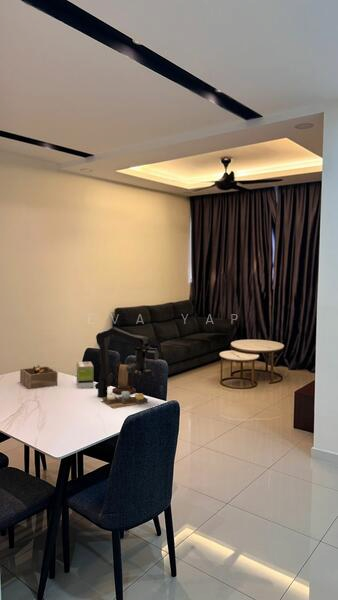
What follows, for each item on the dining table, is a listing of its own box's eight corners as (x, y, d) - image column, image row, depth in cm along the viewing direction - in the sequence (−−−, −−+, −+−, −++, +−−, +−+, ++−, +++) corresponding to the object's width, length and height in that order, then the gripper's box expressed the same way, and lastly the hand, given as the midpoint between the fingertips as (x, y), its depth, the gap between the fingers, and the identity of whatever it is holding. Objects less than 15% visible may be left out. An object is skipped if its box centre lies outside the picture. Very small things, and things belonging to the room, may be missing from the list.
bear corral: (20, 382, 280) (20, 369, 279) (47, 379, 291) (47, 366, 290) (29, 389, 264) (29, 375, 263) (57, 385, 275) (57, 372, 274)
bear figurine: (33, 387, 268) (33, 369, 268) (27, 382, 281) (27, 364, 280) (54, 385, 276) (54, 367, 275) (47, 380, 288) (47, 363, 288)
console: (100, 403, 239) (100, 397, 239) (134, 397, 252) (134, 392, 252) (113, 410, 226) (113, 404, 226) (148, 404, 239) (149, 398, 239)
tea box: (76, 383, 283) (76, 361, 282) (90, 382, 286) (91, 361, 285) (78, 388, 269) (78, 366, 268) (93, 388, 272) (94, 365, 271)
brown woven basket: (108, 395, 255) (109, 363, 254) (117, 389, 270) (118, 359, 269) (131, 398, 252) (132, 365, 251) (138, 391, 266) (139, 360, 265)
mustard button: (133, 400, 241) (133, 393, 240) (140, 399, 244) (140, 392, 243) (138, 402, 237) (138, 395, 237) (145, 401, 240) (145, 394, 239)
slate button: (119, 398, 240) (119, 391, 240) (126, 397, 243) (127, 390, 242) (123, 400, 236) (124, 393, 236) (131, 399, 239) (131, 392, 238)
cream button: (105, 401, 239) (105, 393, 239) (112, 399, 242) (113, 392, 242) (109, 403, 235) (109, 395, 235) (116, 401, 238) (117, 394, 238)
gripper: (120, 357, 242) (119, 383, 243) (136, 362, 227) (136, 391, 227) (136, 355, 248) (135, 381, 249) (153, 361, 233) (153, 388, 234)
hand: (139, 385), depth 240 cm, fingers closed
